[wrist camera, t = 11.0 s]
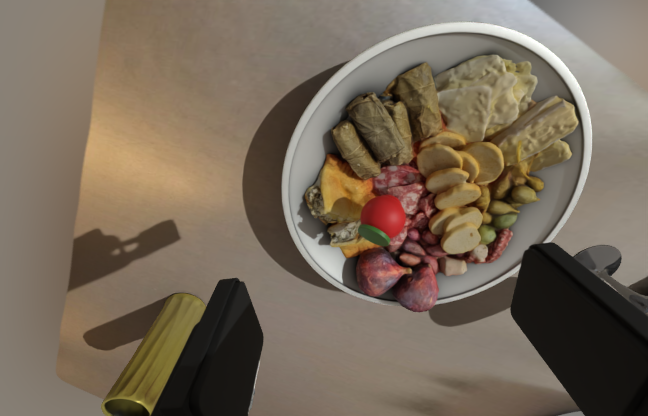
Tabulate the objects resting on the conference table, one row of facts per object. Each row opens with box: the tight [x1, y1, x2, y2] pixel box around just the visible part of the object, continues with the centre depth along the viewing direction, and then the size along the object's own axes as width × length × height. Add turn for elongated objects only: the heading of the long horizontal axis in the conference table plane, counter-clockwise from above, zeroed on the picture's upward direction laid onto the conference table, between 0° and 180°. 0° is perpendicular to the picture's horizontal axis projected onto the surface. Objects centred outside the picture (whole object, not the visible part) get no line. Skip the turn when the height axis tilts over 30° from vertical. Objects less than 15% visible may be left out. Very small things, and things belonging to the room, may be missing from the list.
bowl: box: [281, 22, 592, 312], centre depth 29 cm, size 30×30×8 cm
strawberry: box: [358, 195, 406, 246], centre depth 25 cm, size 4×4×4 cm
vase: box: [101, 293, 206, 416], centre depth 36 cm, size 6×6×14 cm
